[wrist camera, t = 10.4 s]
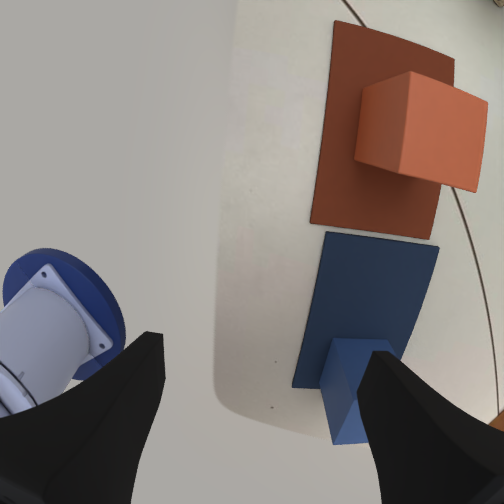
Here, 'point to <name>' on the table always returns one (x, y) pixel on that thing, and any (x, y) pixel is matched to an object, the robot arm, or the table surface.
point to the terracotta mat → (346, 129)
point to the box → (499, 2)
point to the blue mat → (363, 297)
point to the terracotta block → (423, 130)
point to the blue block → (347, 386)
